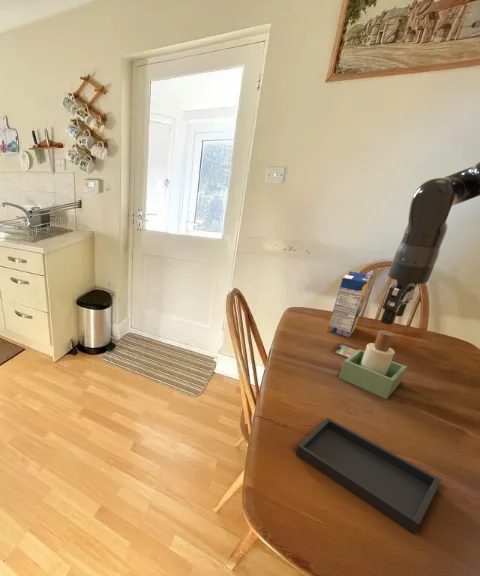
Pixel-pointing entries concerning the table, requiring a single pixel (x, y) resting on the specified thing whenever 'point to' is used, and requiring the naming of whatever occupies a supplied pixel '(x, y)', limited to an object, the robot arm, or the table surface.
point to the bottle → (379, 353)
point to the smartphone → (345, 351)
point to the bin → (371, 375)
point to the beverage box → (349, 303)
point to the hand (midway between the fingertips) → (391, 319)
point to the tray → (370, 472)
